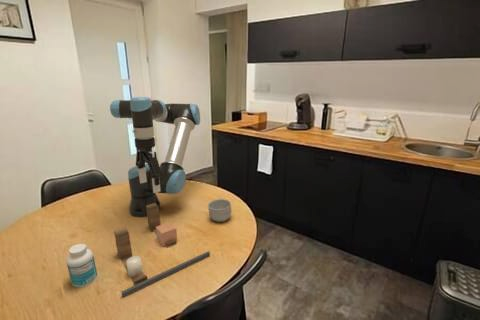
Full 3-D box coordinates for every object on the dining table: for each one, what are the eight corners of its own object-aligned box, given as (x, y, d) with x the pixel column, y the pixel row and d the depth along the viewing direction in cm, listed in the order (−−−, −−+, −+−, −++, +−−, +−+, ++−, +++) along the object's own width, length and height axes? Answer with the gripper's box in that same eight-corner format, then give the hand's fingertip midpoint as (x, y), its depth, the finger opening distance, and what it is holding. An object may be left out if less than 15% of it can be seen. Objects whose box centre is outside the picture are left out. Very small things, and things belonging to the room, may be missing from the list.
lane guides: (104, 260, 97) (103, 253, 96) (180, 230, 116) (180, 224, 115) (123, 301, 79) (122, 293, 79) (210, 259, 98) (209, 252, 97)
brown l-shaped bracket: (118, 257, 99) (113, 230, 95) (129, 253, 101) (125, 227, 98) (135, 289, 84) (131, 259, 80) (148, 283, 86) (144, 254, 83)
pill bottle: (79, 274, 90) (71, 241, 86) (101, 273, 91) (95, 240, 87) (67, 292, 83) (58, 256, 79) (92, 290, 84) (84, 254, 80)
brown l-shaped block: (148, 228, 117) (146, 205, 114) (157, 225, 120) (155, 202, 116) (167, 250, 102) (164, 225, 99) (176, 247, 105) (174, 221, 101)
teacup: (228, 225, 119) (227, 210, 117) (205, 223, 122) (204, 207, 119) (234, 211, 132) (234, 196, 130) (214, 209, 135) (213, 194, 132)
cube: (157, 239, 107) (155, 226, 105) (170, 234, 110) (169, 221, 109) (163, 246, 102) (161, 233, 101) (177, 241, 106) (176, 228, 104)
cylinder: (126, 271, 90) (124, 259, 88) (139, 266, 92) (138, 254, 91) (130, 279, 86) (128, 266, 85) (144, 273, 89) (142, 260, 87)
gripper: (123, 133, 110) (130, 180, 116) (148, 144, 92) (154, 199, 99) (141, 131, 115) (146, 176, 121) (167, 141, 97) (172, 193, 103)
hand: (149, 187), depth 110 cm, fingers open, 13 cm apart
